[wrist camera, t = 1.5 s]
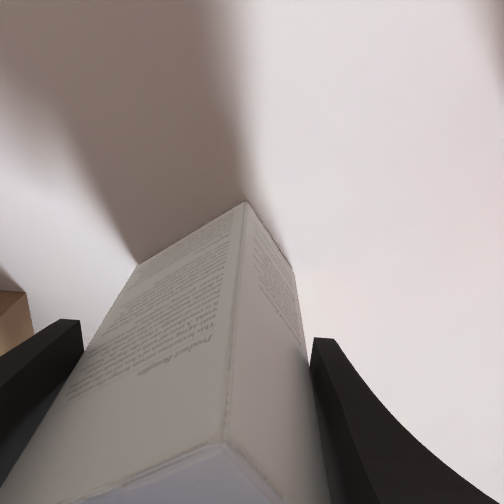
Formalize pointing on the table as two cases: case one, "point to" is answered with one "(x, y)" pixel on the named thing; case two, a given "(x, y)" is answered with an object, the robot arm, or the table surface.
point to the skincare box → (187, 387)
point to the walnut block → (14, 320)
